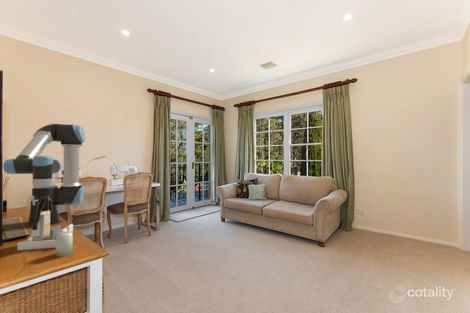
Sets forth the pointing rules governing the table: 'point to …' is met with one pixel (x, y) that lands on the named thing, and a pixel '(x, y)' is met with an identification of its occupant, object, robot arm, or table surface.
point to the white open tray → (41, 244)
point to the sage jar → (64, 243)
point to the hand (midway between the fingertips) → (41, 233)
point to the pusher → (55, 232)
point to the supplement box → (43, 226)
